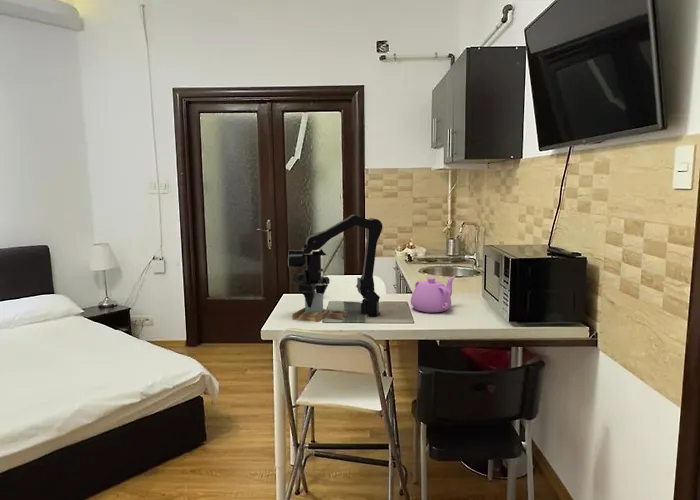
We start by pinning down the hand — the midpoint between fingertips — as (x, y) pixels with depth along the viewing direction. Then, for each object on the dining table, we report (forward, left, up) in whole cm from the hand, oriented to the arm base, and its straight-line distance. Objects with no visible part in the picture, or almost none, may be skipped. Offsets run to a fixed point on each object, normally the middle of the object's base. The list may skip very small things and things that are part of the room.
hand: (314, 304), depth 210 cm
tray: (0, +3, -5) cm, 6 cm away
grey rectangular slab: (0, 0, -4) cm, 4 cm away
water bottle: (+14, -32, -5) cm, 35 cm away
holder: (-10, 0, -5) cm, 11 cm away
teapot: (-43, -31, -6) cm, 53 cm away
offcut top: (0, +5, -3) cm, 6 cm away
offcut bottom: (0, +5, -4) cm, 6 cm away
